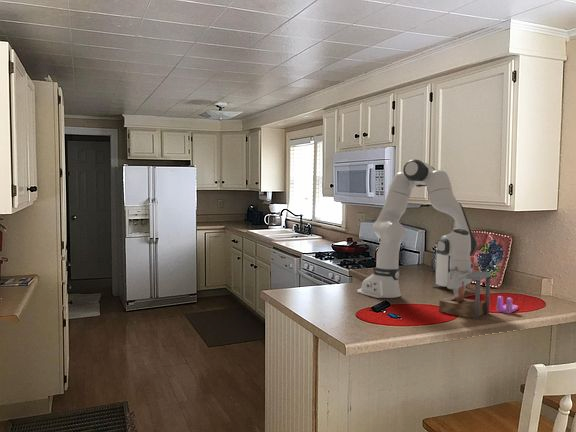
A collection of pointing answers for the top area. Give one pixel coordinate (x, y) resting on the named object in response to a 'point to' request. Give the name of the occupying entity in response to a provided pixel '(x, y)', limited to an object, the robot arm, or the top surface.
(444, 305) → the socket block
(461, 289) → the peg
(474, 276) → the grey legged stand
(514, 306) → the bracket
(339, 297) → the top surface
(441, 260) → the coffee press
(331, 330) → the top surface
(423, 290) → the top surface
